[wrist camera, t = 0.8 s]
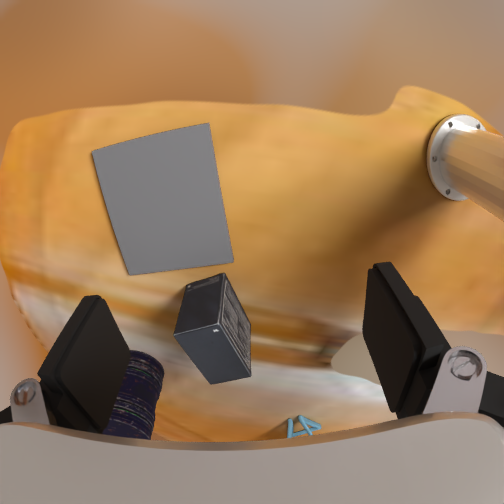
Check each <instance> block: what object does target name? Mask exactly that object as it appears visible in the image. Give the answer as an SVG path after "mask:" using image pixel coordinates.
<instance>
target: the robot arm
mask: <svg viewBox="0 0 504 504" xmlns="http://www.w3.org/2000/svg"><path fill="white" fill-rule="evenodd" d="M427 169H428V173H429V176H430V179H431V181H432V183H433V185H434V186H435V188H436V189H437V190H438V191H439V192H440V193H441V194H442V195H444V196H445V197H447V198H449V199H451V200H456V201H461V200H466V199H470V200H472V201H474V202H475V203H477V204H478V205H480V206H481V207H483V208H484V209H486V210H487V211H489V212H490V213H492V214H493V215H495V216H496V217H498V218H499V219H501V220H502V221H504V137H503V136H500V135H496V134H493V133H490V132H487V131H486V129H485V128H484V126H483V125H482V124H481V123H480V122H479V121H478V120H477V119H475V118H473V117H472V116H469V115H465V114H453V115H450V116H448V117H446V118H445V119H443V120H442V121H441V122H440V123H439V124H438V125H437V126H436V128H435V130H434V131H433V133H432V135H431V138H430V140H429V144H428V149H427ZM362 330H363V337H364V340H365V342H366V345H367V348H368V350H369V353H370V356H371V358H372V361H373V364H374V366H375V369H376V372H377V374H378V377H379V380H380V383H381V386H382V389H383V391H384V394H385V397H386V400H387V403H388V406H389V409H390V411H391V412H392V413H393V412H396V415H397V418H398V419H397V420H392V421H387V422H383V423H378V424H374V425H369V426H364V427H359V428H354V429H348V430H342V431H336V432H330V433H324V434H318V435H310V436H303V437H294V438H285V439H274V440H261V441H244V442H175V441H158V440H146V439H135V438H126V437H118V436H110V435H103V430H104V429H106V428H107V426H108V423H109V420H110V417H111V414H112V411H113V408H114V405H115V401H116V398H117V396H118V393H119V390H120V387H121V384H122V381H123V378H124V375H125V372H126V370H127V367H128V364H129V361H130V358H131V353H130V350H129V348H128V346H127V344H126V342H125V340H124V338H123V336H122V334H121V332H120V330H119V328H118V326H117V324H116V322H115V320H114V318H113V316H112V314H111V312H110V309H109V307H108V305H107V303H106V301H105V300H104V299H102V298H101V297H100V296H99V295H92V296H85V297H84V298H83V299H82V300H81V302H80V303H79V305H78V306H77V308H76V310H75V311H74V313H73V314H72V316H71V317H70V319H69V320H68V322H67V324H66V325H65V327H64V328H63V330H62V332H61V333H60V335H59V337H58V338H57V340H56V342H55V343H54V345H53V347H52V348H51V350H50V352H49V353H48V355H47V357H46V359H45V360H44V362H43V364H42V366H41V368H40V369H39V371H38V373H37V374H38V376H39V377H40V378H41V381H40V383H39V382H38V381H37V380H36V379H33V378H28V379H25V380H23V381H21V382H20V383H18V384H17V385H16V387H15V388H14V389H13V391H12V393H11V397H10V403H11V406H9V407H8V408H6V409H4V410H3V411H1V412H0V504H504V377H502V376H499V375H496V374H493V373H491V372H488V371H487V364H486V361H485V359H484V357H483V356H482V355H481V354H480V353H479V352H478V351H476V350H475V349H473V348H470V347H465V346H459V347H455V348H451V347H450V345H449V343H448V342H447V340H446V339H445V337H444V335H443V334H442V332H441V330H440V329H439V327H438V326H437V324H436V323H435V321H434V319H433V318H432V316H431V315H430V313H429V312H428V310H427V309H426V307H425V306H424V304H423V303H422V301H421V300H420V298H419V297H418V296H414V295H413V293H412V292H411V290H410V289H409V287H408V286H407V284H406V283H405V281H404V280H403V279H402V277H401V276H400V274H399V273H398V271H397V270H396V269H395V267H394V266H393V264H392V263H391V262H383V263H376V264H374V265H373V268H372V269H369V270H368V277H367V290H366V300H365V310H364V319H363V328H362Z"/></svg>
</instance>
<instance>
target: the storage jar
mask: <svg viewBox="0 0 504 504" xmlns="http://www.w3.org/2000/svg"><path fill="white" fill-rule="evenodd" d="M130 353H131V358H130V361H129V364H128V367H127V370H126V372H125V375H124V378H123V381H122V384H121V387H120V390H119V393H118V396H117V398H116V401H115V405H114V408H113V411H112V414H111V417H110V420H109V423H108V426H107V428H106V429H104V430H103V435H110V436H118V437H126V438H135V439H146V440H151V435H152V431H153V427H154V421H155V408H156V403H157V400H158V399H159V396H160V392H161V389H162V382H163V377H164V369H163V367H162V365H161V364H160V363H159V362H158V361H157V360H156V359H155V358H153V357H152V356H150V355H148V354H145V353H143V352H139V351H132V350H130Z"/></svg>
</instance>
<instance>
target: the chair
mask: <svg viewBox="0 0 504 504" xmlns="http://www.w3.org/2000/svg"><path fill="white" fill-rule="evenodd" d="M298 419H299V421H300V423H301V424H302V426H303V427H304V429H305V430H302V431H299V432H296V433H293V421H292V419H288V434H287V438H292V437H295V436H298V435H302V434H305V433H308V435H309V436H310V435H313V434H312V433H311V432H312V431H315V430H318V429H321V425H320V424H318V423H316V422H314V421H311V420H309V419H307V418H305V417H303V416H301V415H300V416H298ZM306 424H308V425H310V426H313V427H312V428H308V426H307V425H306Z"/></svg>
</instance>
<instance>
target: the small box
mask: <svg viewBox="0 0 504 504" xmlns="http://www.w3.org/2000/svg"><path fill="white" fill-rule="evenodd" d="M250 331H251V324H250V322H249V320H248V318H247V316H246V314H245V312H244V310H243V308H242V306H241V304H240V302H239V300H238V298H237V296H236V294H235V292H234V290H233V288H232V286H231V284H230V282H229V280H228V278H227V276H226V274H225V273H222V274H218V275H216V276H213V277H210V278H207V279H204V280H200V281H196V282H194V283H191V284H188V285H186V290H185V293H184V297H183V301H182V305H181V308H180V312H179V316H178V320H177V323H176V328H175V331H174V334H173V336H174V337H175V339H176V340H177V341H178V343H179V344H180V345H181V347H182V348H183V349H184V351H185V352H186V353H187V355H188V356H189V357H190V359H191V360H192V361H193V363H194V364H195V365H196V367H197V368H198V369H199V370H200V372H201V373H202V374H203V376H204V377H205V378H206V379H207V381H208V382H209V383H210V384H217V383H223V382H227V381H232V380H237V379H242V378H247V377H251V359H250V358H251V357H250V355H251V353H250V334H251V333H250Z"/></svg>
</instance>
